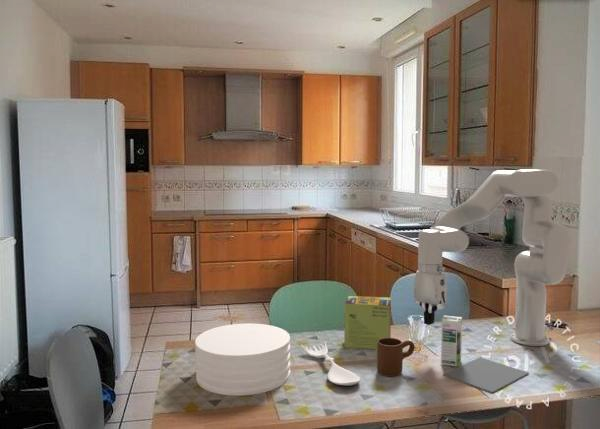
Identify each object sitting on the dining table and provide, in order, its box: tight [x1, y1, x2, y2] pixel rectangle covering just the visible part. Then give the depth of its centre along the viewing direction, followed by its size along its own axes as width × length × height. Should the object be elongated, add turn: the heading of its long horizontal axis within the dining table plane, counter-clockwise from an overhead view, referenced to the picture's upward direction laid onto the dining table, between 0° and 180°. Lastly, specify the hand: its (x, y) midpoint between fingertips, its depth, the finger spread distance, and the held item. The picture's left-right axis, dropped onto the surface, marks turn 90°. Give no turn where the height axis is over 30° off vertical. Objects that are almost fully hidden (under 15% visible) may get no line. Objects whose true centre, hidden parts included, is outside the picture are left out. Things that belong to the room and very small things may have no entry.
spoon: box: [300, 341, 361, 387], centre depth 161 cm, size 9×32×4 cm, turn 18°
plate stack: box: [194, 322, 291, 396], centre depth 157 cm, size 28×28×12 cm
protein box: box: [343, 295, 392, 350], centre depth 182 cm, size 10×15×16 cm
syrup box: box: [440, 314, 463, 368], centre depth 164 cm, size 6×6×14 cm
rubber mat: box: [442, 357, 529, 394], centre depth 155 cm, size 20×16×1 cm
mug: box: [376, 337, 416, 377], centre depth 158 cm, size 12×8×9 cm, turn 106°
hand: (429, 323), depth 170 cm, fingers closed
